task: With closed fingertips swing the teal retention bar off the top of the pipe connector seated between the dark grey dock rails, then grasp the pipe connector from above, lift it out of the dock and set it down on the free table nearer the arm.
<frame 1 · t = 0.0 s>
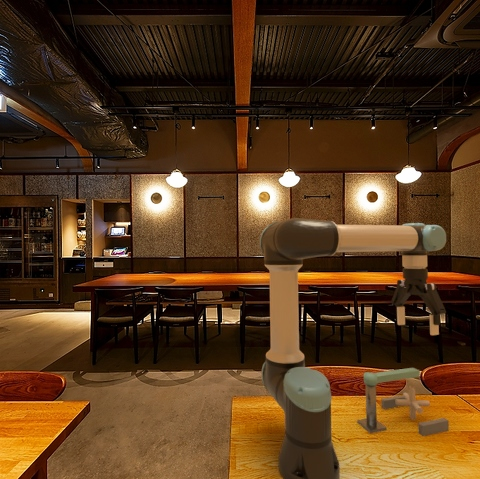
hand: (416, 329, 103), 28 cm above the table, tool pointing down, fingers open, 13 cm apart
clip: (391, 375, 96), point 15 cm above the table, hinge at 0.0°
pipe connector: (412, 418, 98), on the table
dock rails: (412, 418, 98), on the table
pivot post: (371, 426, 94), on the table
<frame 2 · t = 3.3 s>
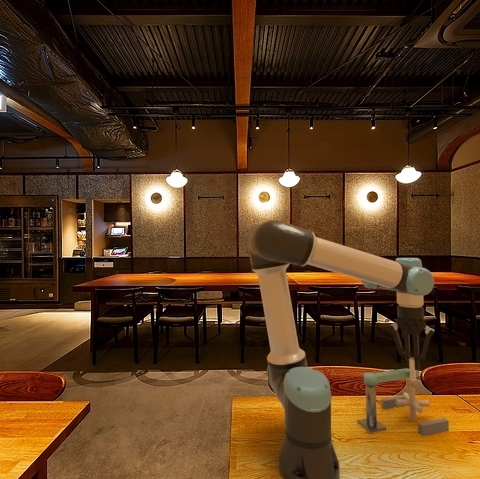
hand: (413, 379, 96), 14 cm above the table, tool pointing down, fingers closed
clip: (391, 375, 97), point 15 cm above the table, hinge at 0.5°, touching gripper
everything else where it was.
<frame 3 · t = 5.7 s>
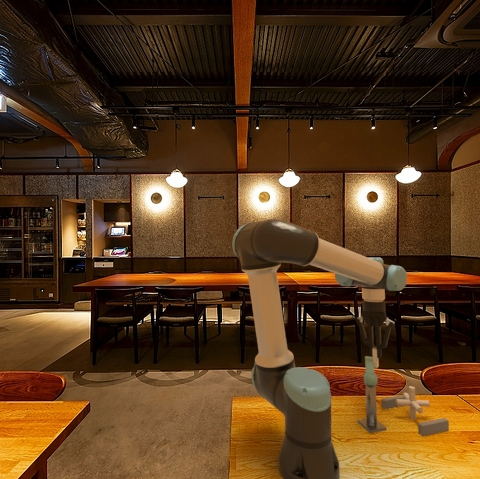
hand: (375, 366, 106), 14 cm above the table, tool pointing down, fingers closed
clip: (369, 369, 102), point 15 cm above the table, hinge at 52.9°, touching gripper
everything else where it was.
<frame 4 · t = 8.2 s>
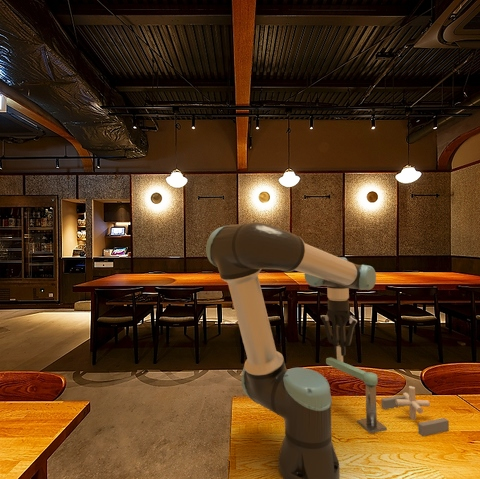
hand: (340, 363, 109), 14 cm above the table, tool pointing down, fingers closed
clip: (350, 369, 101), point 15 cm above the table, hinge at 103.1°, touching gripper
everything else where it was.
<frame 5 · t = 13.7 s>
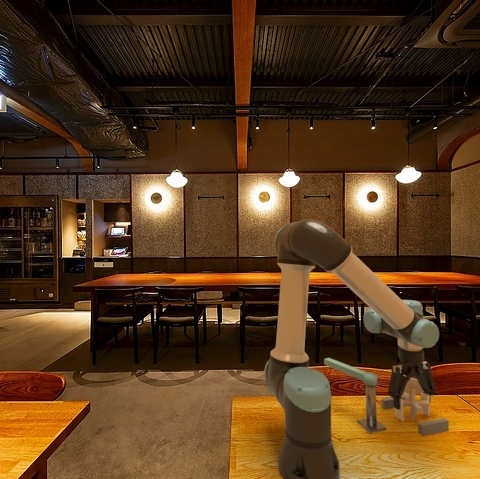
hand: (412, 415, 98), 1 cm above the table, tool pointing down, fingers closed on pipe connector, 10 cm apart
clip: (349, 370, 101), point 15 cm above the table, hinge at 106.7°
pipe connector: (412, 418, 98), on the table, touching gripper
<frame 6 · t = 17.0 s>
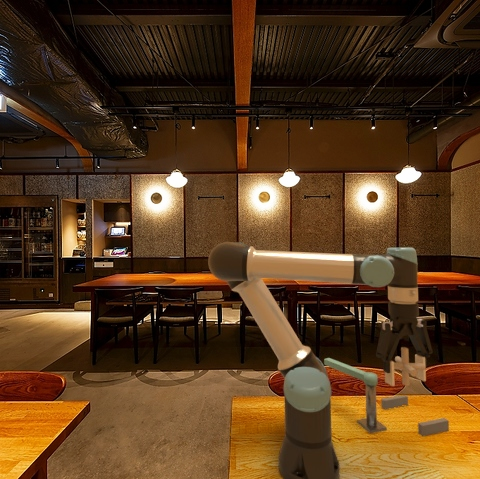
hand: (405, 381, 83), 19 cm above the table, tool pointing down, fingers closed on pipe connector, 10 cm apart
pipe connector: (405, 384, 83), point 18 cm above the table, touching gripper
everything else where it was.
when the fingers open (3 cm above the table, at t = 20.3 s): pipe connector drops 2 cm, on the table.
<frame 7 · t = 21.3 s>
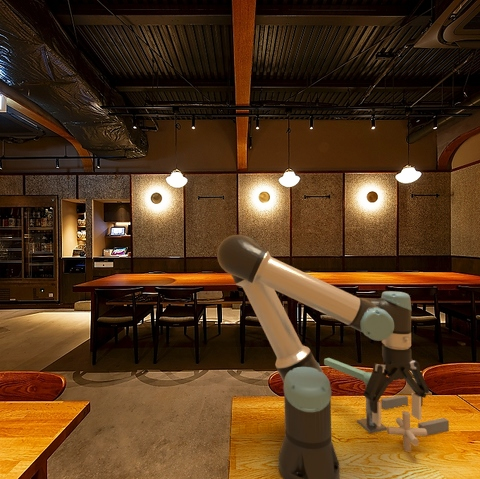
hand: (396, 420, 85), 7 cm above the table, tool pointing down, fingers open, 13 cm apart
pipe connector: (407, 450, 83), on the table
everything else where it was.
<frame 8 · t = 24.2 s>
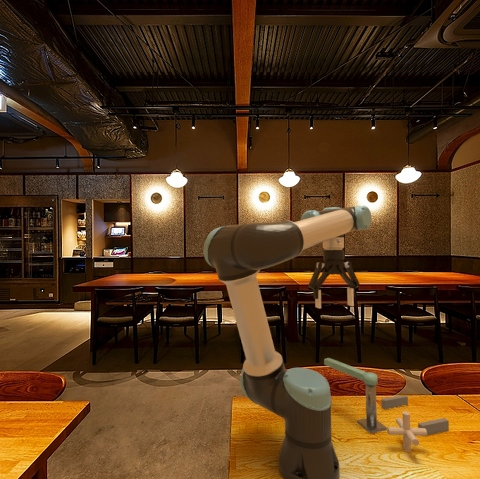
hand: (334, 306, 110), 35 cm above the table, tool pointing down, fingers open, 13 cm apart
nothing on the table moved.
at the end: clip at +107° (first picture: +0°); pipe connector inside the target area (0.1 cm from its centre), on the table; the gripper is holding nothing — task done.
